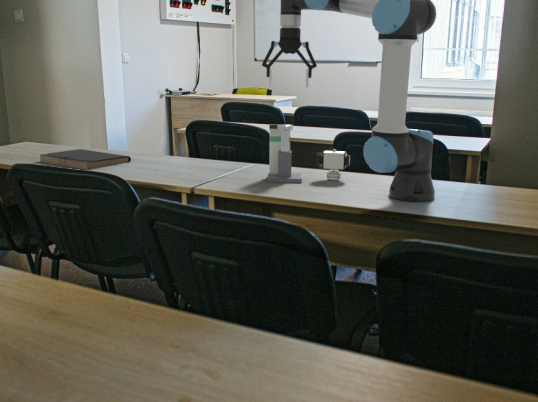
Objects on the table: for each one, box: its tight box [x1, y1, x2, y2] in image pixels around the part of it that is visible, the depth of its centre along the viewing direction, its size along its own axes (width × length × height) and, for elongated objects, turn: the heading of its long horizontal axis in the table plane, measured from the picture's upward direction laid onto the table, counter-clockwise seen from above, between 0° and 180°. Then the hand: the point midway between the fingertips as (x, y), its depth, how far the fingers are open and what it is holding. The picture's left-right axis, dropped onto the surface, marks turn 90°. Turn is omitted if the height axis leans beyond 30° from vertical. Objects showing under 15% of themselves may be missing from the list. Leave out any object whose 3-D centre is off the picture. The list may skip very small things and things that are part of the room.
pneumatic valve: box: [317, 148, 351, 182], centre depth 223 cm, size 6×12×12 cm, turn 78°
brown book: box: [39, 148, 132, 171], centre depth 259 cm, size 33×4×24 cm
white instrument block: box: [269, 123, 294, 152], centre depth 220 cm, size 9×6×11 cm
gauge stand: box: [266, 129, 303, 184], centre depth 221 cm, size 13×11×20 cm
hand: (288, 86), depth 216 cm, fingers open, 13 cm apart
